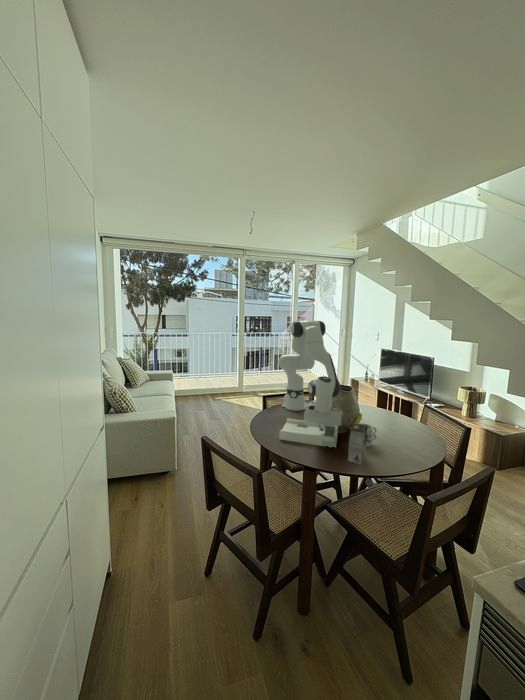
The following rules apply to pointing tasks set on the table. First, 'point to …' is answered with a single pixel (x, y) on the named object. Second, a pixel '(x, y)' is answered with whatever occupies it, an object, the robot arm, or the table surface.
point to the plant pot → (358, 419)
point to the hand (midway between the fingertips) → (321, 430)
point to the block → (329, 430)
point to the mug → (369, 434)
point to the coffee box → (357, 443)
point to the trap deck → (307, 433)
